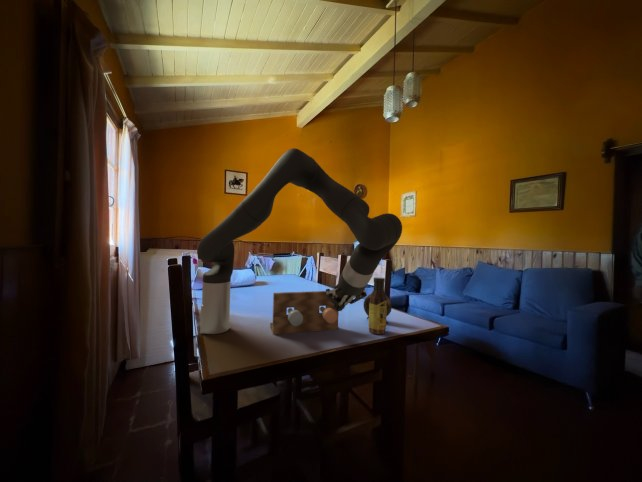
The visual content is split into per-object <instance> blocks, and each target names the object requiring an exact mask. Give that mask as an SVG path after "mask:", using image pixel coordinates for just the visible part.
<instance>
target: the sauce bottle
mask: <svg viewBox="0 0 642 482" xmlns="http://www.w3.org/2000/svg"><path fill="white" fill-rule="evenodd" d="M385 283H386V279H385V278H384V277H373V290H372V292H371V293H370V294H371V295H370V294H369V295H370V305H369V318H368V331H369V333H371V334H373V335H374V334H375V335H383V334H385V333H386V329H387V323H386V320H387V317H386V315H387V298H386V295H387V294H386V292H385Z"/></svg>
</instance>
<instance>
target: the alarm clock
mask: <svg viewBox="0 0 642 482" xmlns="http://www.w3.org/2000/svg"><path fill="white" fill-rule="evenodd" d="M370 295H371V293H370V294H367V296H366V297H364V300H363V310H364V312H365V314H366V315H367V317H366V319H367V320H369V305H370ZM385 295H386V298H387V315H386V318H387V317H388V316H389V315H390V314H391V312H392V308H393V307H392V301H391V300H390V297H388V296H387V294H385ZM388 323H389V322H388V320H387V319H386V324H388Z"/></svg>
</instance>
